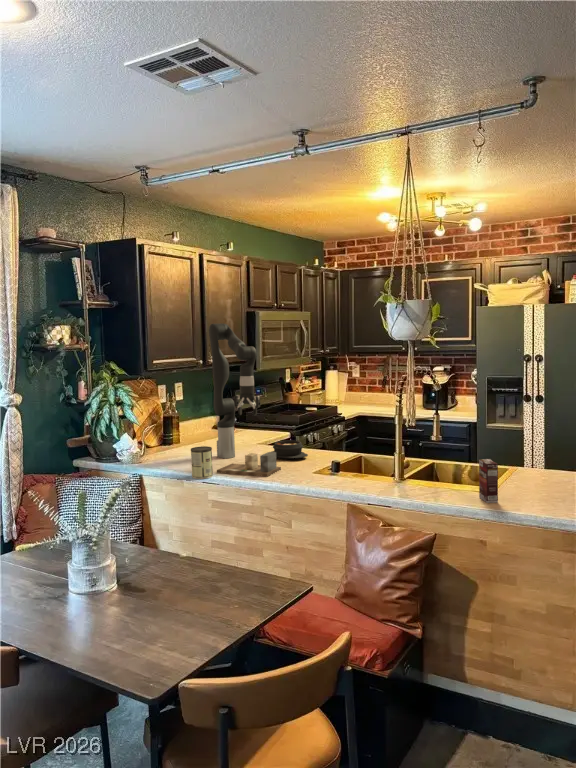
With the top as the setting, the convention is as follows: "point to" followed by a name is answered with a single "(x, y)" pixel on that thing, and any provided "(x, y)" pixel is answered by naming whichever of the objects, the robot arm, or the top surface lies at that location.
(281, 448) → the casserole
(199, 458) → the coffee can
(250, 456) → the tan wooden block
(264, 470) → the board
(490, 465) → the supplement box
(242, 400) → the robot arm
